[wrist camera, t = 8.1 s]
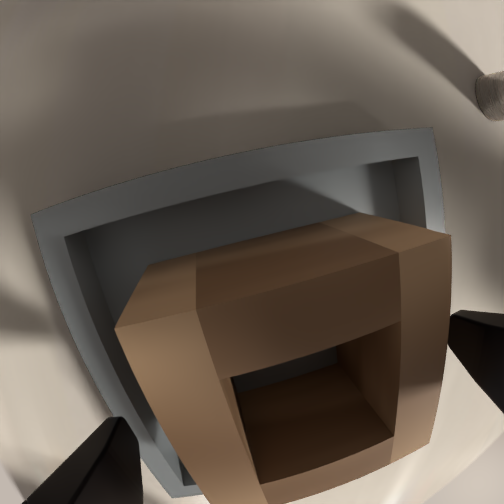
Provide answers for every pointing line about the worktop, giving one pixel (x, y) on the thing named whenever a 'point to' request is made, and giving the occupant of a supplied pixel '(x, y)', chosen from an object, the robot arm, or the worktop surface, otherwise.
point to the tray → (217, 244)
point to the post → (491, 95)
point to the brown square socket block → (294, 354)
